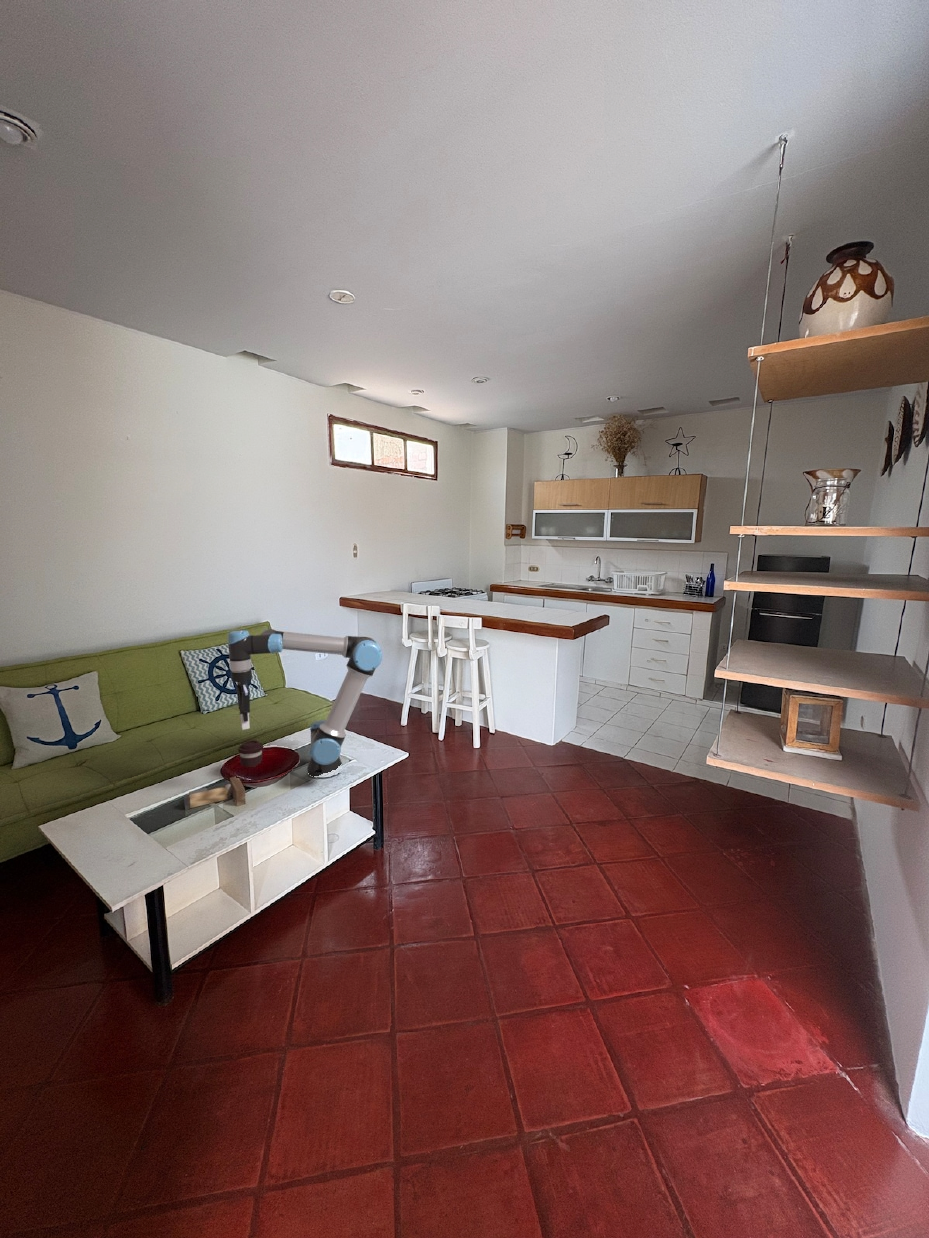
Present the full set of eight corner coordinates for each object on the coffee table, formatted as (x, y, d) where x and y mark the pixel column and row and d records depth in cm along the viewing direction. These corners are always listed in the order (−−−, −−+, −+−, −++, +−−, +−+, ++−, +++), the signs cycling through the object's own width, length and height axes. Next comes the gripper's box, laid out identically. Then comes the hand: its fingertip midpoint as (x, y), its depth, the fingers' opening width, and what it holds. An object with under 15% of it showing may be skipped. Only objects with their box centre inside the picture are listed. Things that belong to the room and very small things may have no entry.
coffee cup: (234, 777, 211) (233, 744, 210) (253, 769, 220) (252, 737, 218) (250, 782, 207) (248, 748, 205) (269, 774, 216) (268, 741, 214)
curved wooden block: (238, 790, 200) (237, 775, 200) (245, 803, 189) (244, 789, 188) (230, 791, 199) (229, 777, 198) (237, 806, 187) (236, 791, 186)
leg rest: (206, 797, 194) (206, 787, 193) (208, 800, 191) (207, 790, 191) (189, 801, 190) (189, 791, 190) (190, 804, 188) (190, 794, 187)
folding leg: (230, 795, 195) (230, 782, 195) (232, 798, 193) (231, 785, 192) (184, 806, 186) (183, 793, 186) (185, 809, 184) (184, 796, 183)
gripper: (255, 671, 188) (260, 730, 191) (247, 666, 199) (251, 722, 202) (234, 674, 184) (239, 735, 187) (227, 668, 194) (231, 726, 197)
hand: (245, 728), depth 194 cm, fingers closed
